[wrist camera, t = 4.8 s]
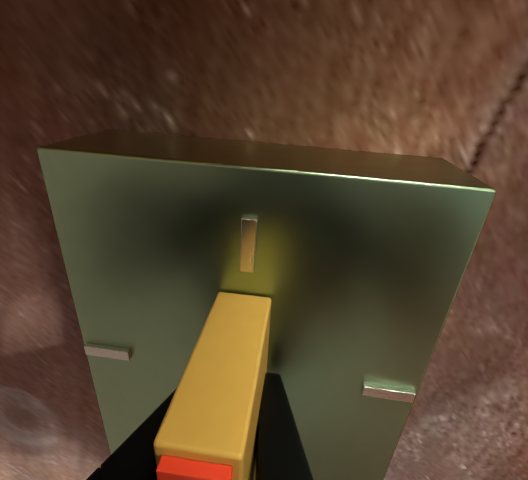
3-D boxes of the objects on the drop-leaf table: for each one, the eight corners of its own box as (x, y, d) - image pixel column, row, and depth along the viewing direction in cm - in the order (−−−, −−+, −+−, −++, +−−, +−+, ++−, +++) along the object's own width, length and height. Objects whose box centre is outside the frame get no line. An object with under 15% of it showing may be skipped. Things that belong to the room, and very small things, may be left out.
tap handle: (262, 433, 11) (236, 625, 7) (220, 427, 11) (173, 612, 7) (272, 296, 8) (240, 476, 5) (217, 290, 8) (142, 460, 5)
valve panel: (361, 429, 15) (374, 513, 12) (146, 395, 15) (109, 465, 13) (444, 158, 9) (503, 191, 6) (107, 128, 10) (28, 147, 7)
